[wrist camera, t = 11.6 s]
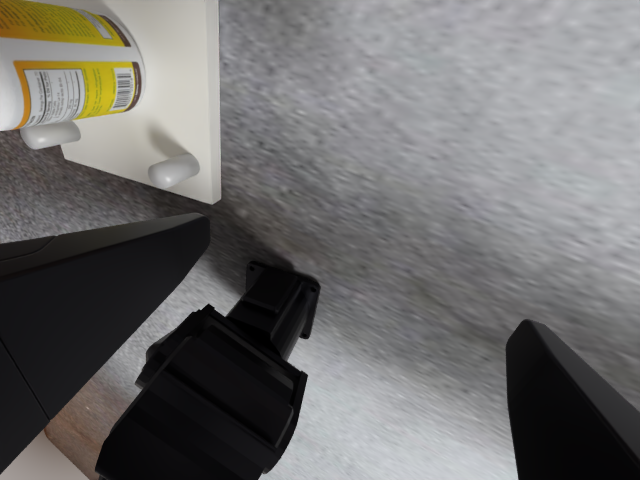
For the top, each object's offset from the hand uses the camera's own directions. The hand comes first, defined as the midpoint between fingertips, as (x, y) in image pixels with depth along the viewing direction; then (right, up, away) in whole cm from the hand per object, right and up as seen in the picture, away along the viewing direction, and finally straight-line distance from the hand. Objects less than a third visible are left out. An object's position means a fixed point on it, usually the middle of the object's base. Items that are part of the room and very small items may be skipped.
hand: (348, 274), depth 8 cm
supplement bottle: (-14, +12, +11) cm, 22 cm away
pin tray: (-14, +13, +12) cm, 22 cm away
